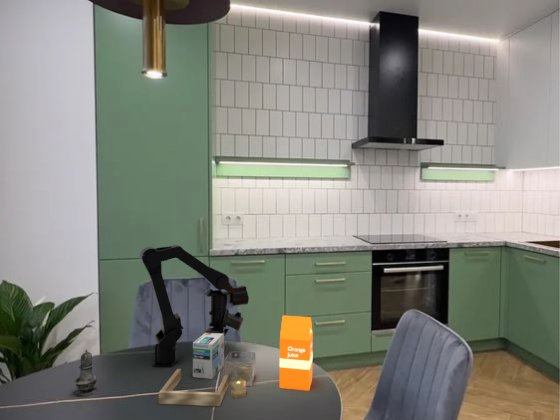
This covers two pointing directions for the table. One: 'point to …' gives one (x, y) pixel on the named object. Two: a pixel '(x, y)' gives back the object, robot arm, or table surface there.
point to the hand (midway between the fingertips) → (218, 351)
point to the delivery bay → (191, 393)
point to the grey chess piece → (86, 376)
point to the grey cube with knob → (241, 366)
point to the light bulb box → (208, 355)
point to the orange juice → (296, 353)
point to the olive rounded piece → (238, 387)
